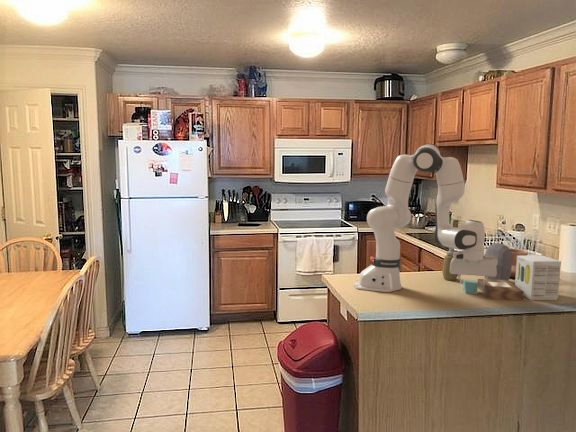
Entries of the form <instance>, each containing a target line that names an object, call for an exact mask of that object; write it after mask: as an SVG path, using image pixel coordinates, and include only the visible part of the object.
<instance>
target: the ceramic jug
mask: <svg viewBox="0 0 576 432" xmlns="http://www.w3.org/2000/svg"><path fill="white" fill-rule="evenodd" d="M509 249H510V250H511V252H512V268H511V276H510V279H511V278H512V279H515V278H516V264H517V256H529V255H528V254H529V251H527V250H525V249H518V248H509Z"/></svg>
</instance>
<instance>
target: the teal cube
mask: <svg viewBox="0 0 576 432" xmlns="http://www.w3.org/2000/svg"><path fill="white" fill-rule="evenodd" d="M477 286H478V281H475V280H471V279H470V280H469V279H467V280H466V279H463V284H462V291H463V292H464V293H465V294H471V295H472V294H473V295H474V294H475V295H477V294H478V287H477Z"/></svg>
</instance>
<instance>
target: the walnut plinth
mask: <svg viewBox="0 0 576 432" xmlns="http://www.w3.org/2000/svg"><path fill="white" fill-rule="evenodd" d="M484 279H485V278H477V283H478V286H477V289H479V290H480V291H481V292H482V293H483V294H484V295H485V296H486V297H487V298H489V300H490V299H491V300H506V301H507V300H509V301H510V300H511V301H524V296H523V295H524V291H522V290H521V289H520V288H518V287H517V286H516V285H515V283H513V282H512V281H510V279H509V280H494V279H487V281H486V282H485V286H481V281H484Z"/></svg>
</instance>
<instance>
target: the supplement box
mask: <svg viewBox="0 0 576 432" xmlns="http://www.w3.org/2000/svg"><path fill="white" fill-rule="evenodd" d="M561 267H562V260H557V259H555V258H551V257H548V256H544V255H527V256H517V264H516V278H514V279H515V281H514V285H516V286H517V287H518V288H520V289H521V290H522V291H524V295H523V298H526V299H527V300H528V299H529V300H530V301H534V300H535V301H553V300H555V301H556V300H559V289H560V279H561V278H560V276H561Z"/></svg>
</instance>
